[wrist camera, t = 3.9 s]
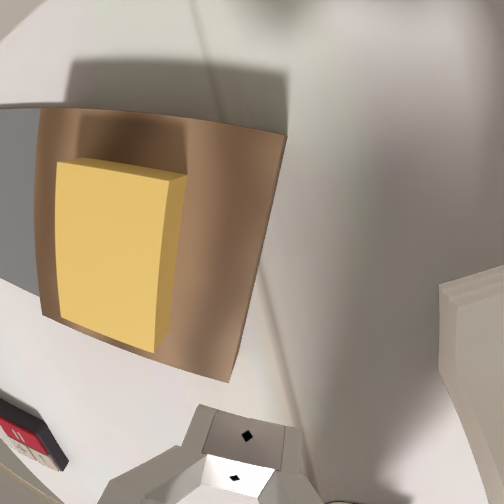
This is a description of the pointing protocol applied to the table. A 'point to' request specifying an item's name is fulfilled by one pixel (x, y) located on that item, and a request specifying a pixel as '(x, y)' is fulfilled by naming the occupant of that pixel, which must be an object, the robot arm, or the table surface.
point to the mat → (18, 197)
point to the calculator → (30, 437)
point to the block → (476, 367)
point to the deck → (191, 226)
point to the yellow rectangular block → (117, 247)
